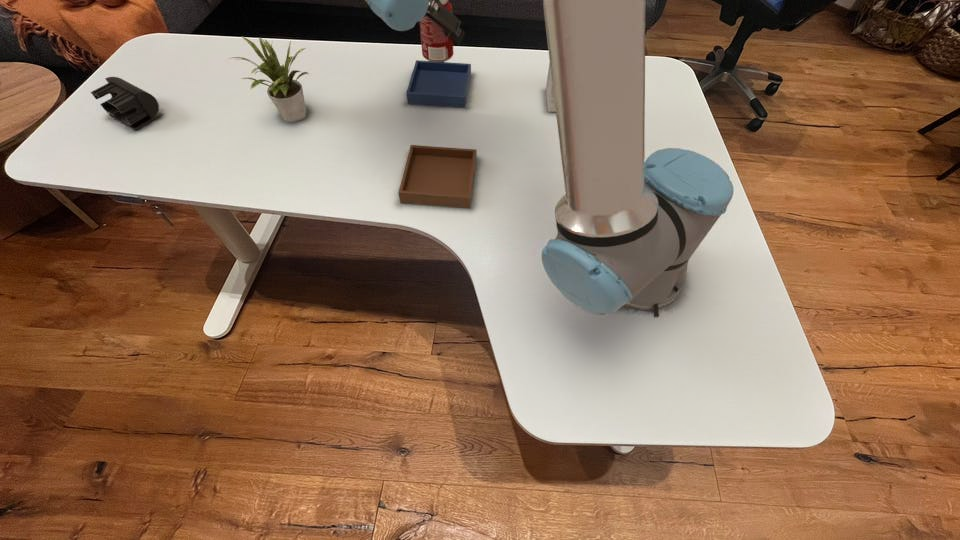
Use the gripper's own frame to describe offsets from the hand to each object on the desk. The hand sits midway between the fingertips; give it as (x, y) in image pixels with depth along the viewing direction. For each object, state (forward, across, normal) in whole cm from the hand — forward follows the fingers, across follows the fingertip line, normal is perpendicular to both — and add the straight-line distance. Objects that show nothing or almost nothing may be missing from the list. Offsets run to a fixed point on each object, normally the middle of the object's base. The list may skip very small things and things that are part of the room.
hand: (446, 33), depth 94 cm
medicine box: (+14, +25, -3) cm, 28 cm away
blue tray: (+6, 0, -11) cm, 12 cm away
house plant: (-13, -22, -30) cm, 39 cm away
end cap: (-26, -48, -43) cm, 70 cm away
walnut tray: (-11, +18, -28) cm, 35 cm away
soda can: (0, 0, -5) cm, 5 cm away
